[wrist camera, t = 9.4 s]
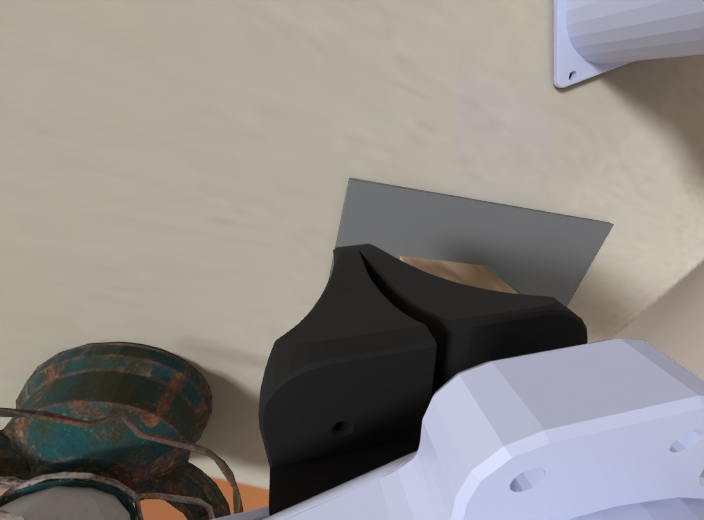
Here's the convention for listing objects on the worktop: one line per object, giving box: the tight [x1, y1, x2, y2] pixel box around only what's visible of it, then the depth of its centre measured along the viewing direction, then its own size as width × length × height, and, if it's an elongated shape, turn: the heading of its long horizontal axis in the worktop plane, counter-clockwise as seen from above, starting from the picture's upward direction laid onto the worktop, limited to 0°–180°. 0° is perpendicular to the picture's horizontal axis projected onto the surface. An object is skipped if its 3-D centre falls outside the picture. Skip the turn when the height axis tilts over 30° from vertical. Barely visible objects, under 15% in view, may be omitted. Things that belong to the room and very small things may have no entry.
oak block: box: [399, 256, 522, 294], centre depth 24 cm, size 4×4×8 cm
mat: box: [329, 178, 614, 307], centre depth 26 cm, size 22×14×1 cm, turn 78°
